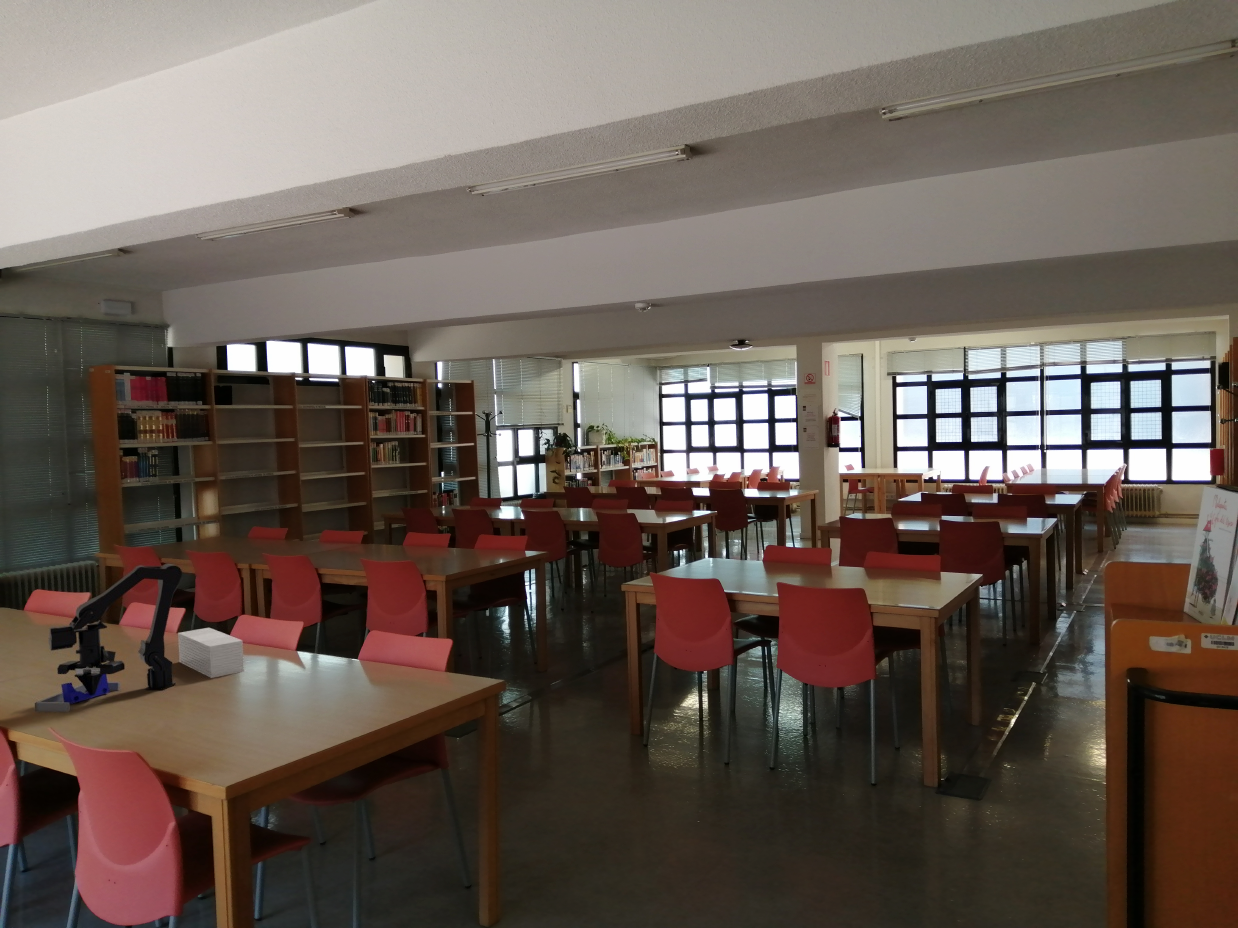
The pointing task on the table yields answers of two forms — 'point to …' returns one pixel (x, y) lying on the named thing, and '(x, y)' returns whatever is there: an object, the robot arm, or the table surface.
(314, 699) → the table surface
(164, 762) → the table surface
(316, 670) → the table surface
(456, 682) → the table surface
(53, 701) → the bracket
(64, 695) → the blue cradle mount
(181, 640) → the stack of papers
